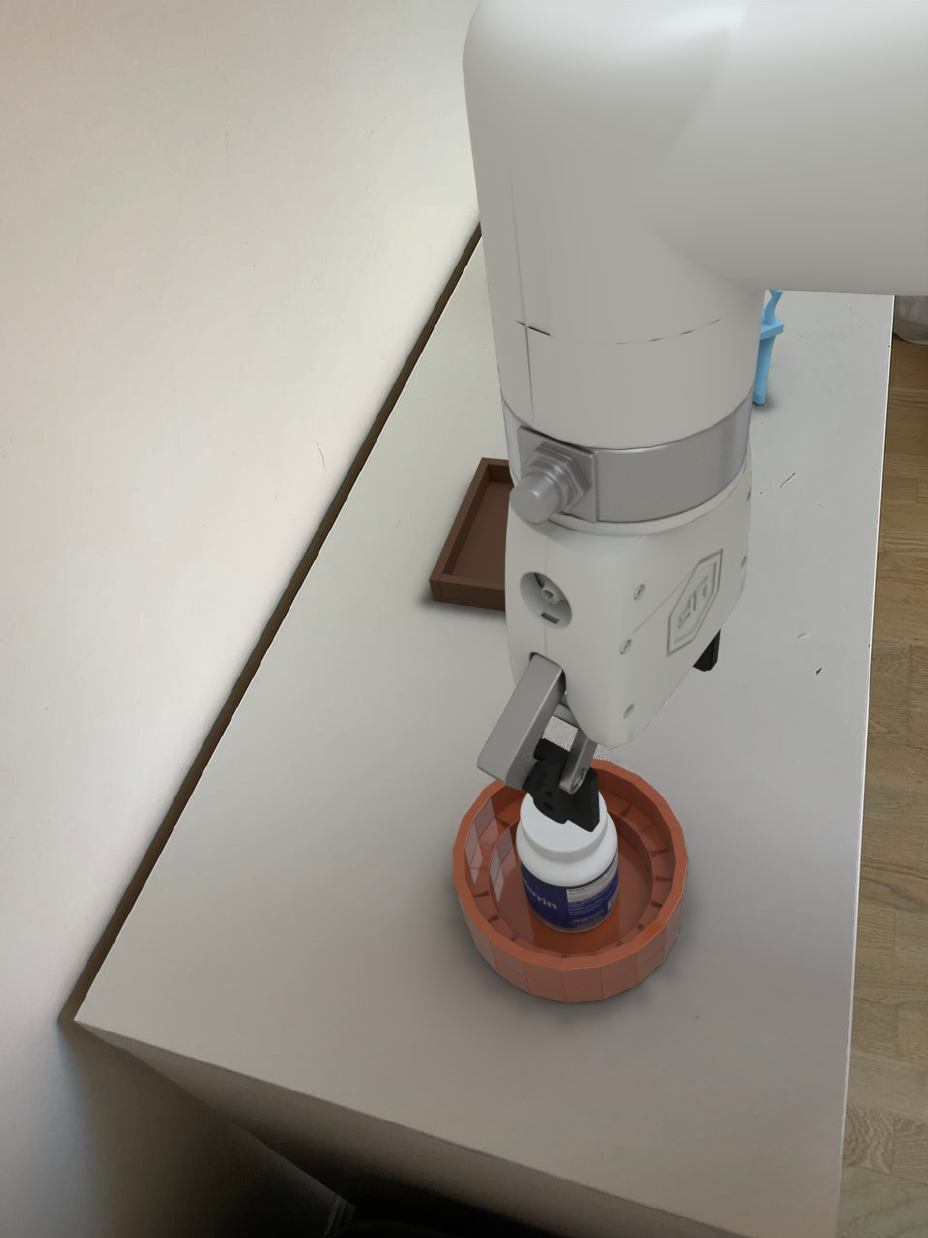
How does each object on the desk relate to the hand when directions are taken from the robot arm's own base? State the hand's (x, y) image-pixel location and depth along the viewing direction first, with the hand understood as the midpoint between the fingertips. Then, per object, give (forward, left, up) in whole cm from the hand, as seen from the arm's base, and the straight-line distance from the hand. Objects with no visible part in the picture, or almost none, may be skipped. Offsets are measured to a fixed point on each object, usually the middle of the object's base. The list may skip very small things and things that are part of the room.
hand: (626, 729), depth 44 cm
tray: (+26, -19, -21) cm, 38 cm away
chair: (+32, -43, -21) cm, 57 cm away
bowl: (+4, +1, -21) cm, 22 cm away
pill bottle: (+4, +1, -21) cm, 21 cm away
